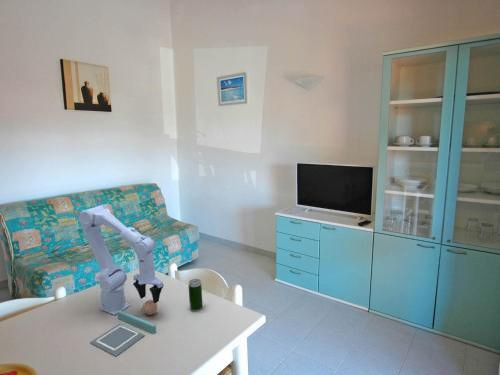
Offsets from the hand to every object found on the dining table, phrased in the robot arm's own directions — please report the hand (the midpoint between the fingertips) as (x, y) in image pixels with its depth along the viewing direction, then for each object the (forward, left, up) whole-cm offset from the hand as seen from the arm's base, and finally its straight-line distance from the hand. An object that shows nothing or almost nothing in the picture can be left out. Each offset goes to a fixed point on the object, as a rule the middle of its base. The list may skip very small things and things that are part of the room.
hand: (149, 299), depth 124 cm
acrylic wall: (+1, -8, -6) cm, 10 cm away
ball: (0, 0, -6) cm, 6 cm away
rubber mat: (+2, -17, -6) cm, 18 cm away
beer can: (+14, +12, -6) cm, 19 cm away
